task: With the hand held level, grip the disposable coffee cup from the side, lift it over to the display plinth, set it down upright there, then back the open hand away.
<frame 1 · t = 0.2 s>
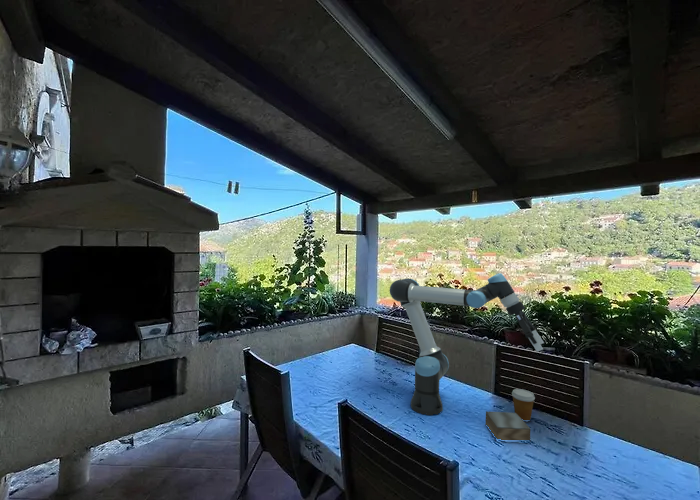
hand: (540, 347, 146), 35 cm above the table, tool tilted 35°, fingers open, 13 cm apart
display plinth: (506, 433, 138), on the table
disposable coffee cup: (522, 419, 151), on the table
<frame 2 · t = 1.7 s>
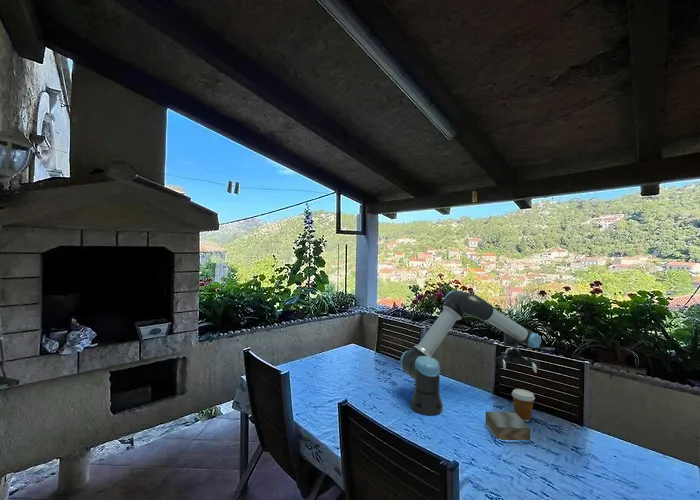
hand: (520, 368, 160), 20 cm above the table, tool horizontal, fingers open, 13 cm apart
nothing on the table moved.
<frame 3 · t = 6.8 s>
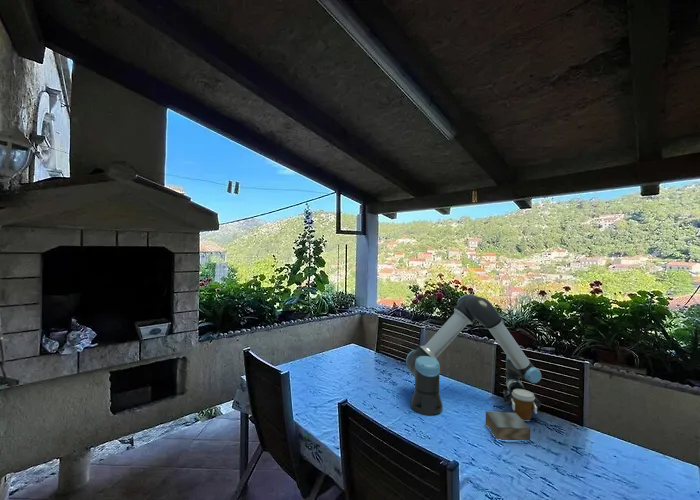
hand: (524, 408, 147), 7 cm above the table, tool horizontal, fingers closed on disposable coffee cup, 8 cm apart
disposable coffee cup: (522, 419, 151), on the table, touching gripper
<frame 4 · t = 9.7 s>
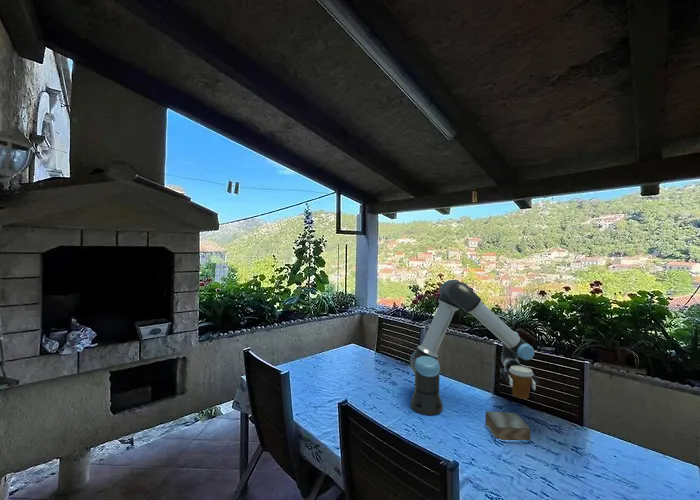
hand: (523, 385, 140), 20 cm above the table, tool horizontal, fingers closed on disposable coffee cup, 8 cm apart
disposable coffee cup: (520, 396, 144), point 13 cm above the table, touching gripper
when the fingers open (14 cm above the table, at t = 12.4 s): disposable coffee cup drops 1 cm, resting on display plinth.
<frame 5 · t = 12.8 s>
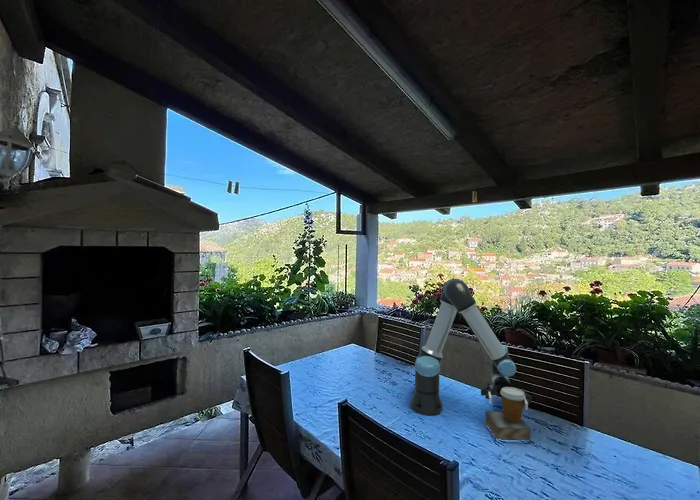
hand: (508, 403, 135), 14 cm above the table, tool horizontal, fingers open, 13 cm apart
disposable coffee cup: (512, 420, 138), point 6 cm above the table, touching display plinth, gripper
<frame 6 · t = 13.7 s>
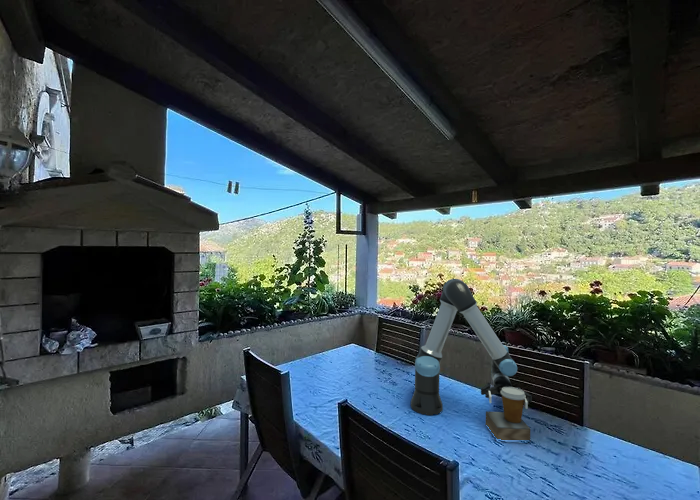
hand: (508, 402, 136), 14 cm above the table, tool horizontal, fingers open, 13 cm apart
nothing on the table moved.
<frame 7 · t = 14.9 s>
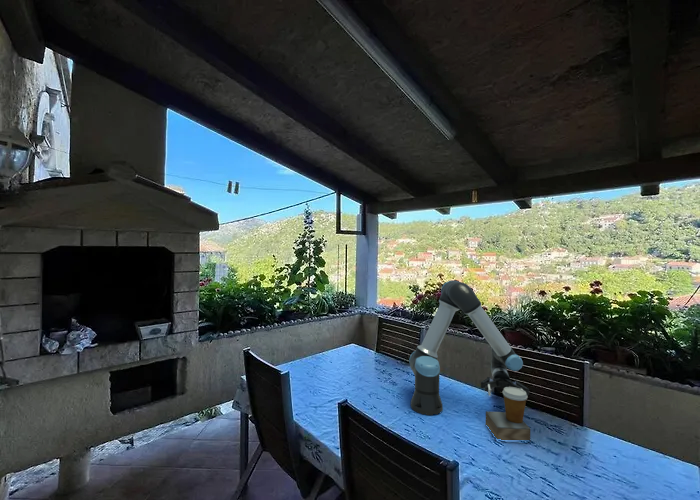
hand: (506, 395, 143), 14 cm above the table, tool horizontal, fingers open, 13 cm apart
disposable coffee cup: (514, 419, 138), point 6 cm above the table, touching display plinth
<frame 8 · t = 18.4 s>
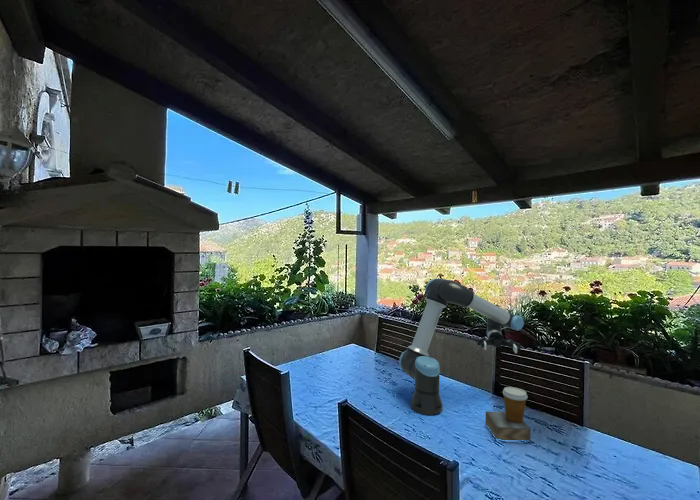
hand: (500, 348, 159), 30 cm above the table, tool horizontal, fingers open, 13 cm apart
nothing on the table moved.
at the end: disposable coffee cup inside the target area on the display plinth (3.2 cm from its centre), point 5.8 cm above the display plinth's base; disposable coffee cup tilted 0°; the gripper is holding nothing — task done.
